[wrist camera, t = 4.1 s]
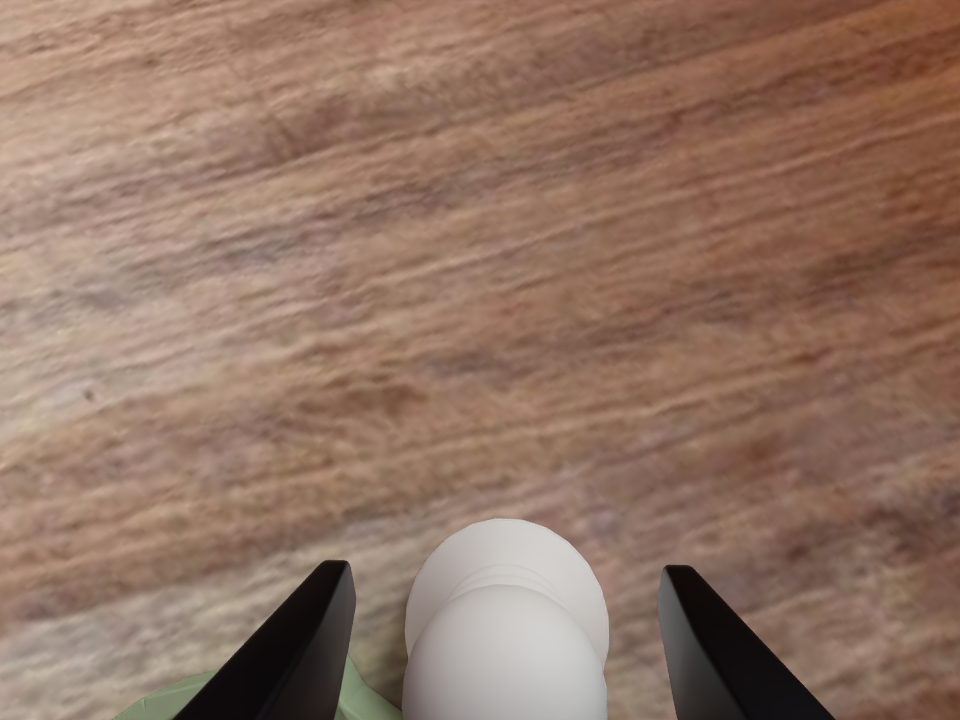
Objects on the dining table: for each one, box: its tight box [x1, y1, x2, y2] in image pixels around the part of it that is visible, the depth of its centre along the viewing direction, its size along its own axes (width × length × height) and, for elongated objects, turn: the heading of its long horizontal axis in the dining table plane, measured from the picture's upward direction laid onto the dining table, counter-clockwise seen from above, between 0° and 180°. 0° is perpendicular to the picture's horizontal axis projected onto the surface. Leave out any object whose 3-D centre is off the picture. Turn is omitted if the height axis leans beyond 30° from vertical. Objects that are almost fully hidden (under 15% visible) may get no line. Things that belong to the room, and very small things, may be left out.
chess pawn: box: [402, 518, 609, 720], centre depth 11 cm, size 5×5×9 cm
